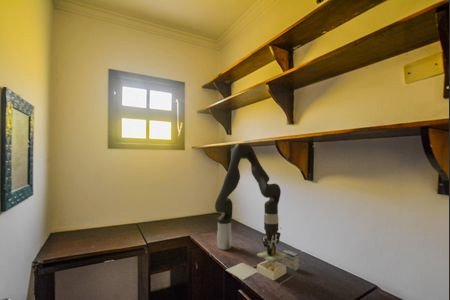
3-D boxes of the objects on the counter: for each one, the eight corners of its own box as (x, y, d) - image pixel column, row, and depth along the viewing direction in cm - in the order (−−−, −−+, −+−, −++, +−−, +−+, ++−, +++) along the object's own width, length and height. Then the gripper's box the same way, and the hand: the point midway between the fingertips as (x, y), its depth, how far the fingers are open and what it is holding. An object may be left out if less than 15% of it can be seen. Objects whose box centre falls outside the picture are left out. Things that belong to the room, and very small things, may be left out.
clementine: (267, 272, 124) (267, 266, 124) (271, 270, 126) (271, 264, 126) (272, 274, 122) (272, 268, 122) (275, 272, 124) (275, 266, 124)
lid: (257, 255, 124) (256, 245, 124) (269, 250, 132) (269, 240, 132) (273, 262, 116) (273, 251, 116) (286, 256, 123) (286, 246, 123)
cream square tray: (256, 273, 124) (256, 264, 124) (269, 266, 132) (269, 258, 132) (273, 281, 116) (273, 272, 116) (286, 274, 123) (286, 265, 123)
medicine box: (281, 266, 131) (281, 251, 131) (286, 264, 134) (286, 249, 135) (294, 272, 126) (294, 255, 126) (298, 269, 129) (298, 253, 129)
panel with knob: (225, 270, 127) (225, 269, 127) (242, 263, 135) (242, 262, 135) (242, 280, 117) (242, 279, 117) (259, 272, 126) (259, 270, 126)
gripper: (273, 217, 132) (273, 248, 131) (257, 222, 122) (257, 255, 122) (284, 220, 126) (285, 252, 126) (268, 225, 117) (268, 260, 116)
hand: (271, 253), depth 124 cm, fingers closed on lid, 3 cm apart
